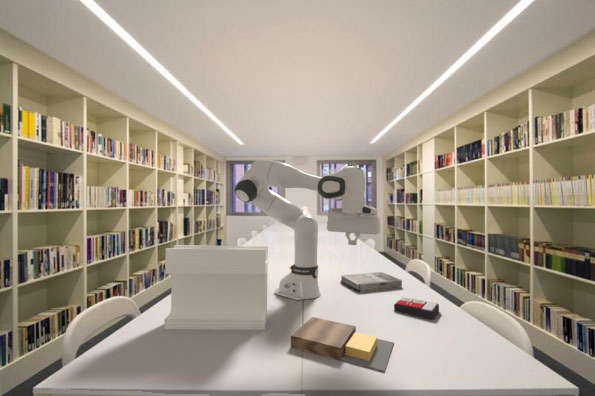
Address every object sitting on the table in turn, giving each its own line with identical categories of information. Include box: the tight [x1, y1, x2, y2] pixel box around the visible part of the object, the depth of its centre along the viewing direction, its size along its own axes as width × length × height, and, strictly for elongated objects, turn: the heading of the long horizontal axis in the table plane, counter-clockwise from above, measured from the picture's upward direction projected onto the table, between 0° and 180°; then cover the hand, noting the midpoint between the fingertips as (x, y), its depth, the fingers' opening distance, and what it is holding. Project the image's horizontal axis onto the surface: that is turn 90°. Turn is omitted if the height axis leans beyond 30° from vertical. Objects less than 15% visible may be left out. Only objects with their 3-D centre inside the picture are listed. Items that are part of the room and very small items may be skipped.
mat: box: [341, 338, 394, 373], centre depth 85 cm, size 12×17×1 cm
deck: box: [290, 316, 357, 361], centre depth 91 cm, size 16×16×4 cm
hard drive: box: [340, 271, 403, 293], centre depth 153 cm, size 18×27×4 cm
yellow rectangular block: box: [344, 331, 378, 361], centre depth 85 cm, size 7×10×2 cm
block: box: [163, 244, 269, 331], centre depth 103 cm, size 35×8×28 cm, turn 91°
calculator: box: [393, 297, 440, 321], centre depth 117 cm, size 11×4×15 cm
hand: (352, 244), depth 108 cm, fingers closed
